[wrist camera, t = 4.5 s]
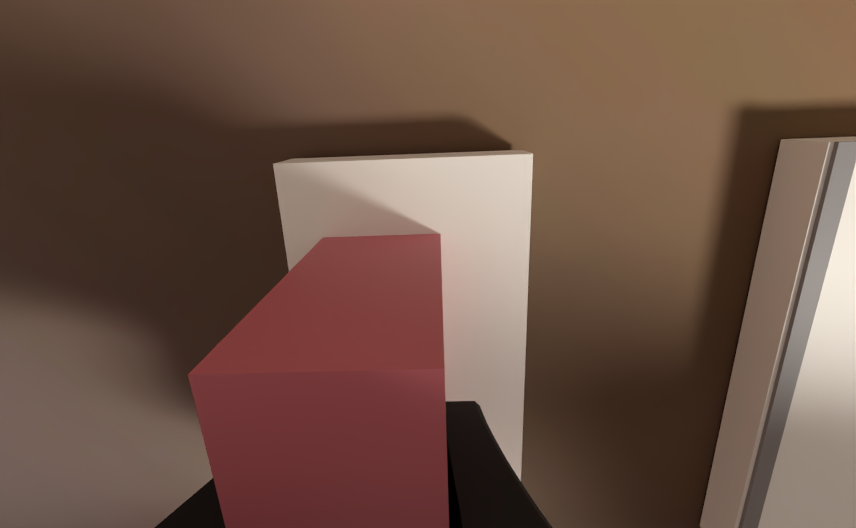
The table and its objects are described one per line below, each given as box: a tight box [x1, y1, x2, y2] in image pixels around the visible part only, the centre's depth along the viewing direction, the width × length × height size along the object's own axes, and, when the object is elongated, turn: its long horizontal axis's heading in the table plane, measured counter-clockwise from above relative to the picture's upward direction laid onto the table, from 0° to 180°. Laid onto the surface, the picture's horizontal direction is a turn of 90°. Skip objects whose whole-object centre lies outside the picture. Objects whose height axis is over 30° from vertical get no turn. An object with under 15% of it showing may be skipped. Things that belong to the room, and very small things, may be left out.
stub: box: [188, 150, 533, 528], centre depth 8 cm, size 11×5×6 cm, turn 2°
